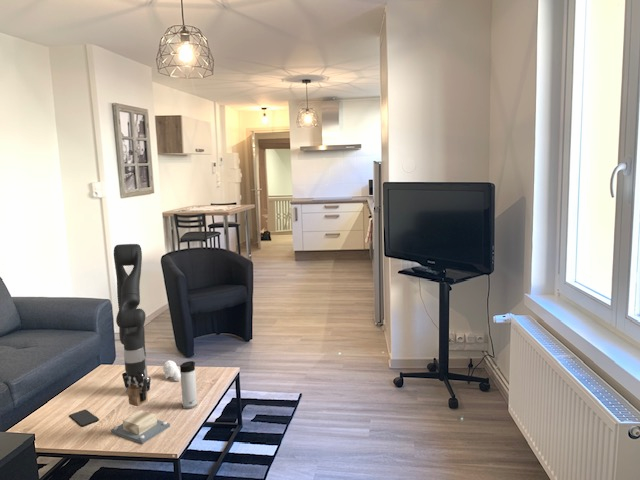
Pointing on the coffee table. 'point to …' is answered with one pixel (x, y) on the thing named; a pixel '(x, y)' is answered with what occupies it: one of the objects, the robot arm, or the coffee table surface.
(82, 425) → the smartphone
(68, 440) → the coffee table surface
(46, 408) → the coffee table surface
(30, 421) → the coffee table surface
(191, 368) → the travel mug
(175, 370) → the white lumpy piece
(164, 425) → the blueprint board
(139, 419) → the birch plinth
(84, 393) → the coffee table surface
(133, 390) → the walnut block
